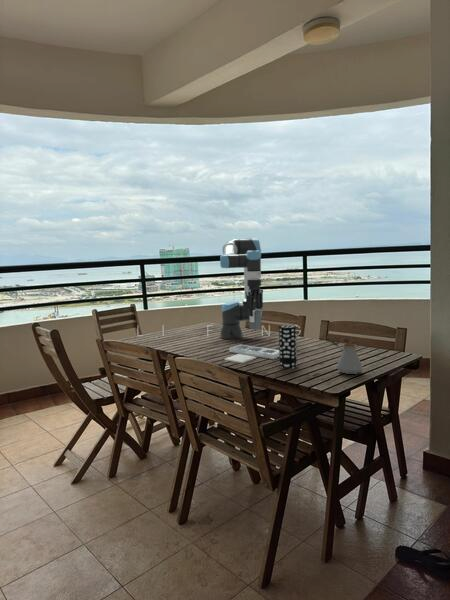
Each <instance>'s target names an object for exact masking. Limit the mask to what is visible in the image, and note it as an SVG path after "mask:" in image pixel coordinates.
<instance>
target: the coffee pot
mask: <svg viewBox="0 0 450 600" xmlns="http://www.w3.org/2000/svg"><path fill="white" fill-rule="evenodd" d="M323 340H327V341H329V342H330V343H331V344H333V345H335V346H336V347H337V348H338V349H340V350H341V351H342V354H341V355H340V357H339V359H338V362H337V364H336V368H337V370H338V371H339V372H340V373H341V372H342V373H347V374H355V373H358V374H359V373H361V372H362V371H363V367H364V366H363V364H362V362H361V360H360V358H359V355H358V353H357V351H356V349H357V347H358V346H357V344H355V343H344V344H342V345H339V344H338V343H337V342H335V341H334V340H333V339H331V338H330V337H328V336H326V335H324V337H323ZM342 373H341V374H342Z"/></svg>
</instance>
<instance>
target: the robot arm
mask: <svg viewBox="0 0 450 600" xmlns="http://www.w3.org/2000/svg"><path fill="white" fill-rule="evenodd" d="M221 251H222V254H221V255H220V257H219V259H220V262H219V264H220V265H219V266H220V268H221V269H240V268H241V269H242V268H243V285H244V289H243V290H244V299H243V300H242V303H240V301H238V300H237V301H235V300H234V301H229V302H225V303H223V304H222V306H221V315H222V316H221V317H222V318H221V319H222V320H221V325H222V327H221V329H220V333H219V337H220V338H221V339H224V340H237V339H242V338H243V337H244V336H243V335H244V334H243V331H242V327H241V324H240V322H249V315H250V322H255V313H254V310H259V311H261V316H262V315H263V307H264V302H263V301H264V297H263V295H264V294H263V293H264V289H261V286H262V279H261V278H262V272H261V271H262V270H261V269H262V268H261V267H262V262H261V260H262V259H261V258H262V248H261V243H260V240H259V239H258V238H254V237H253V238H252V237H251V238H234V239H230V240H229V241H227V242H226V243H224V244H223V246H222V250H221Z"/></svg>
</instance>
